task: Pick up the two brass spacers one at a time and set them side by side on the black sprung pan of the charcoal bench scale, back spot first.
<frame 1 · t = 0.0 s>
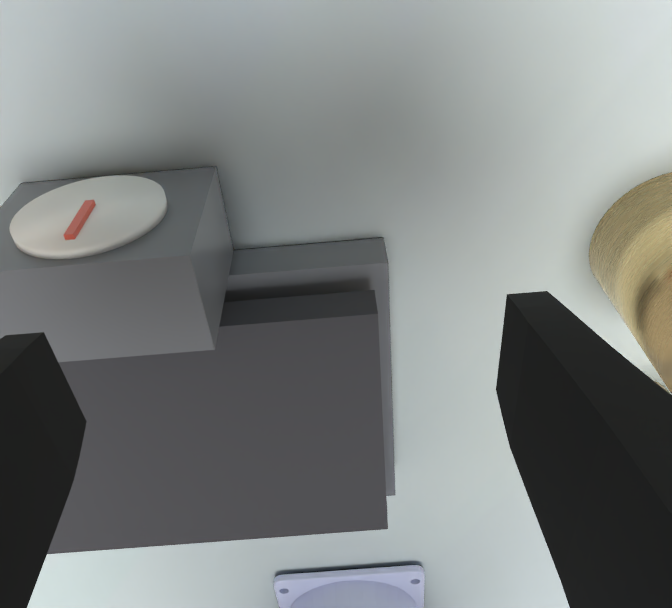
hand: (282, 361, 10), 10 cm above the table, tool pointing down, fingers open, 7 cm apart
scale: (185, 385, 24), on the table
scale pan: (172, 441, 22), point 3 cm above the table, slide at -0.3 cm
spacer a: (664, 238, 21), on the table
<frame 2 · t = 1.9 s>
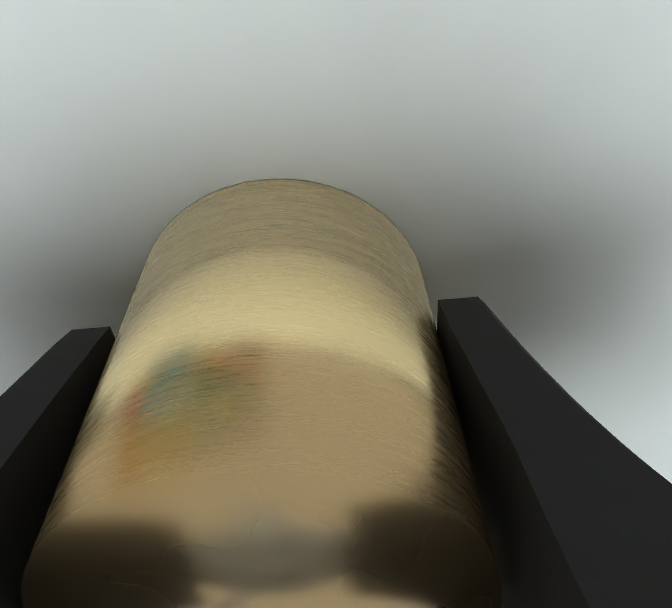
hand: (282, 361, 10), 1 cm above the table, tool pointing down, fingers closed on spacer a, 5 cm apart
spacer a: (285, 307, 11), on the table, touching gripper
when the fingers open (6 cm above the table, at t = 5.5 s): spacer a stays where it is, resting on scale pan.
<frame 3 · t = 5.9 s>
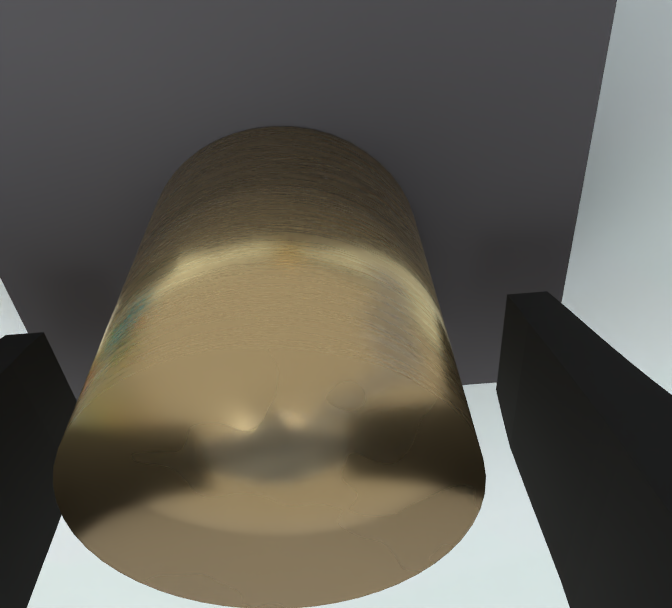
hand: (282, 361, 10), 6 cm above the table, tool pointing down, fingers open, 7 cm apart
scale pan: (257, 47, 10), point 3 cm above the table, slide at -0.4 cm, touching spacer a
spacer a: (286, 253, 12), point 3 cm above the table, touching scale pan
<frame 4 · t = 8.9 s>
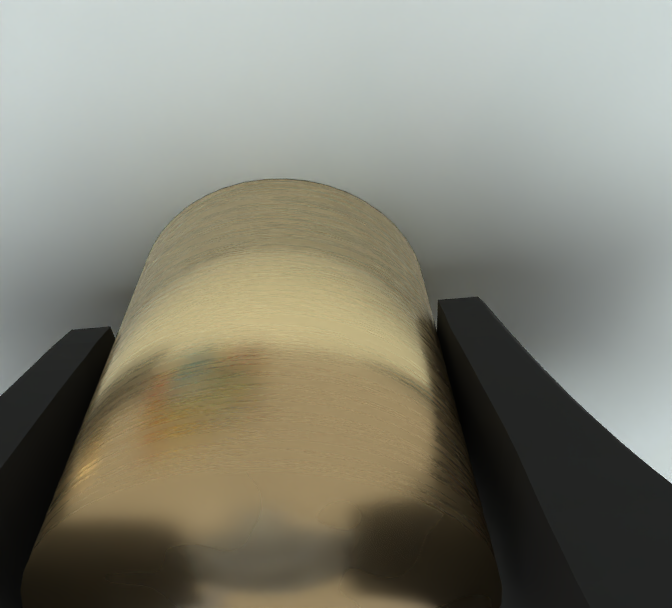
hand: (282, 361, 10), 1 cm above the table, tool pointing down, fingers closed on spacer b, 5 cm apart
spacer b: (285, 307, 11), on the table, touching gripper
when the fingers open (6 cm above the table, at t = 12.0 s): spacer b drops 1 cm, resting on scale pan.
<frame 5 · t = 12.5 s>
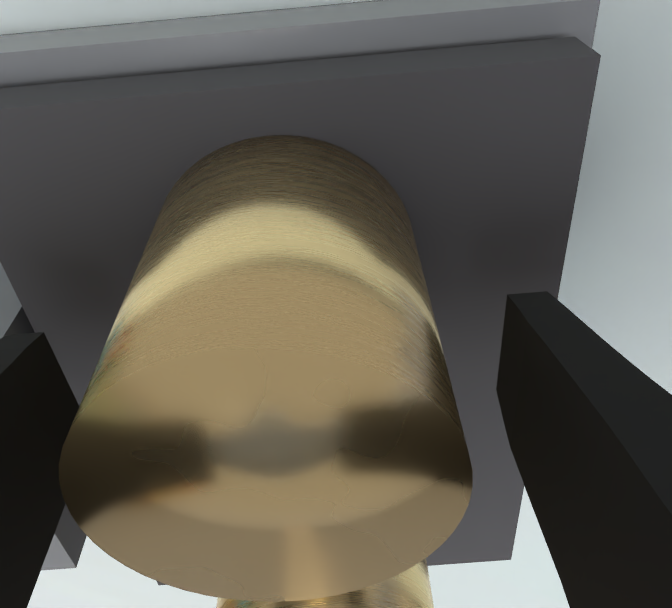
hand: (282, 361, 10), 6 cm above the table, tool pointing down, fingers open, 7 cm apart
scale: (309, 323, 17), on the table
scale pan: (308, 387, 15), point 2 cm above the table, slide at -0.6 cm, touching spacer a, spacer b
spacer b: (286, 258, 12), point 3 cm above the table, touching scale pan
spacer a: (323, 497, 17), point 3 cm above the table, touching scale pan
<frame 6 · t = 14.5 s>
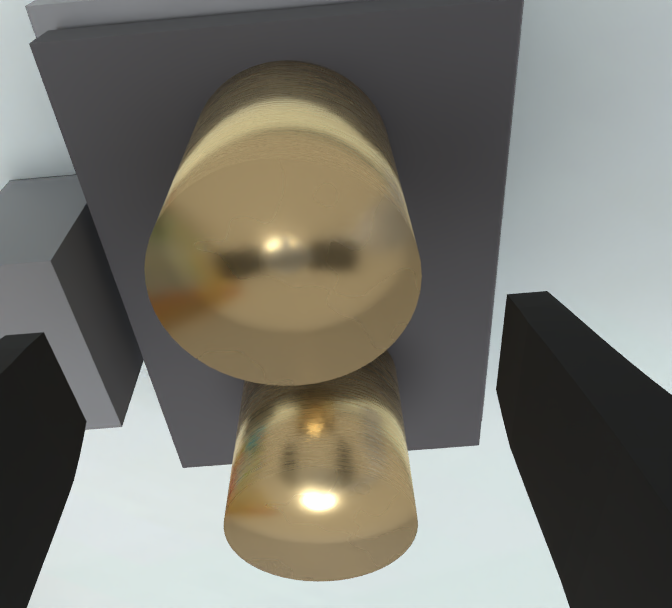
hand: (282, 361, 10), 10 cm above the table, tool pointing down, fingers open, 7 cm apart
scale: (309, 239, 20), on the table
scale pan: (309, 281, 18), point 2 cm above the table, slide at -0.6 cm, touching spacer a, spacer b
spacer b: (292, 162, 16), point 3 cm above the table, touching scale pan
spacer a: (321, 381, 20), point 3 cm above the table, touching scale pan
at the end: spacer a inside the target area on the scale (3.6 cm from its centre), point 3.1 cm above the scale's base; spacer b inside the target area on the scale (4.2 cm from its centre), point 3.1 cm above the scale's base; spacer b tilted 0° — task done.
